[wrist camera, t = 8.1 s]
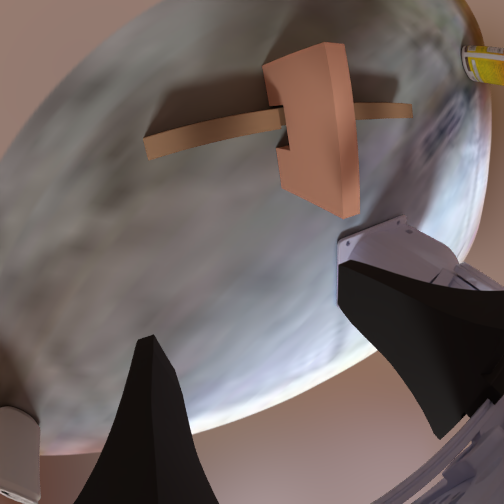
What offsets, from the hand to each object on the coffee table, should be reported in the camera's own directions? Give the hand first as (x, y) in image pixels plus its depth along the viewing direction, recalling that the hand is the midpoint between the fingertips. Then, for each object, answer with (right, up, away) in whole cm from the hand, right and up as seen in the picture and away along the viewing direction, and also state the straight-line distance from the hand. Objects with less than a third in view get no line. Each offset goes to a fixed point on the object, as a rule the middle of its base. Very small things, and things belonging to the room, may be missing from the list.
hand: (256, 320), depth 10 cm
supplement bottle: (+30, +29, +11) cm, 43 cm away
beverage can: (-29, -18, +9) cm, 35 cm away
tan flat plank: (+2, +11, +8) cm, 14 cm away
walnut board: (+3, +12, +8) cm, 14 cm away
